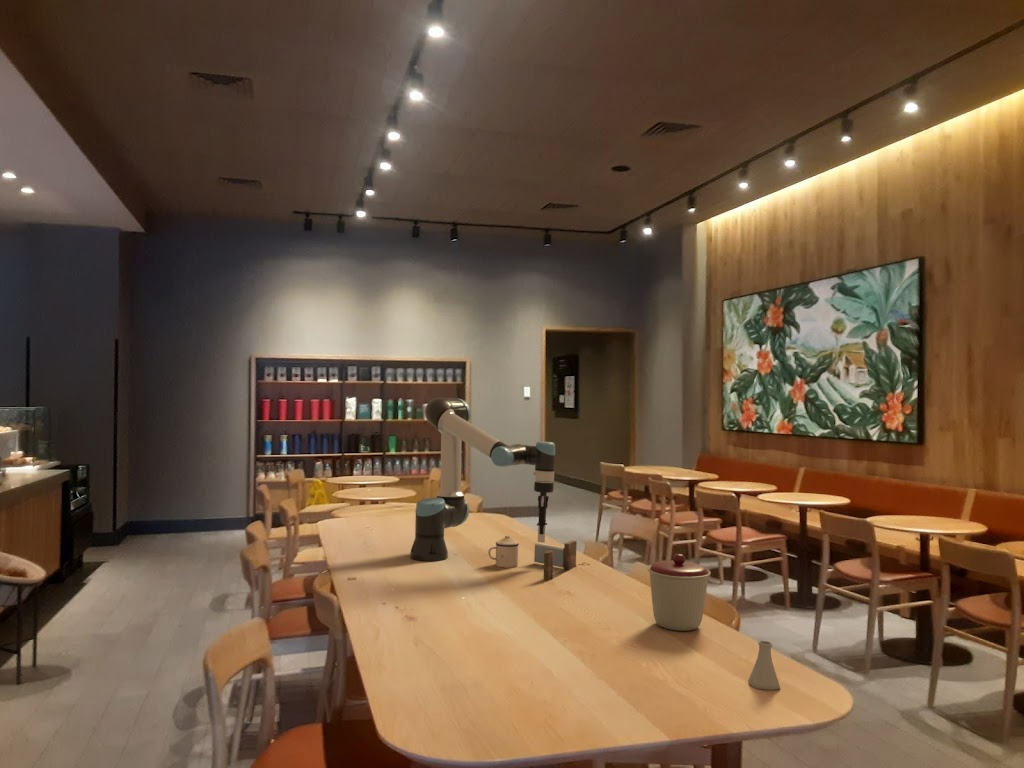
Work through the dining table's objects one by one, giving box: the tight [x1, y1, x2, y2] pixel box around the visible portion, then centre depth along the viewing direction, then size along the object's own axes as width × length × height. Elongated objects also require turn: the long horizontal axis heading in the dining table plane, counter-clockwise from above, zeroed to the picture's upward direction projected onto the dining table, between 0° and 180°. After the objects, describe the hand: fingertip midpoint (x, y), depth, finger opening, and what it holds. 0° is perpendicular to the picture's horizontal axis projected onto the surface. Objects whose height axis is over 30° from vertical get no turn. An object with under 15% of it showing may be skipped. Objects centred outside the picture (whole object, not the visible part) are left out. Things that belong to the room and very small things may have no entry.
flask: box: [747, 639, 781, 691], centre depth 179 cm, size 7×7×10 cm
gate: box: [534, 542, 564, 569], centre depth 299 cm, size 14×1×8 cm, turn 50°
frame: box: [542, 540, 577, 581], centre depth 287 cm, size 2×28×10 cm, turn 154°
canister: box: [647, 553, 711, 632], centre depth 224 cm, size 18×18×21 cm
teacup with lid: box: [487, 534, 520, 569], centre depth 297 cm, size 12×9×12 cm
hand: (541, 541), depth 297 cm, fingers closed
